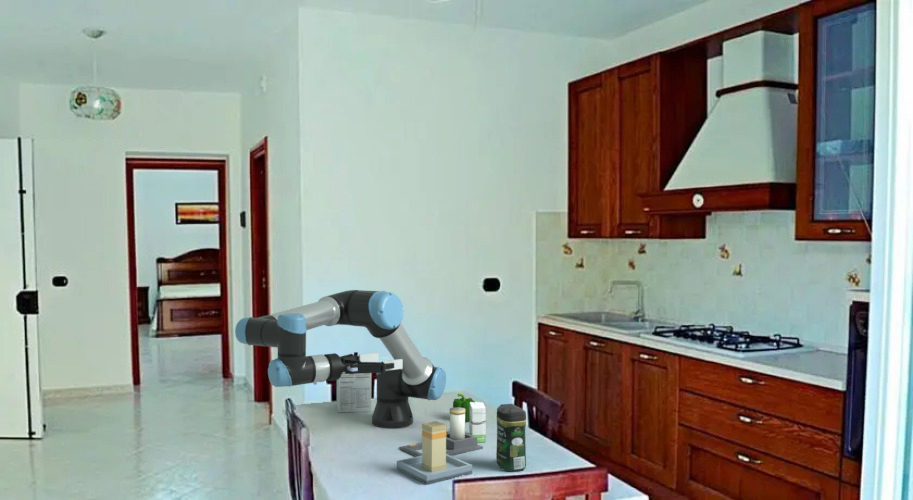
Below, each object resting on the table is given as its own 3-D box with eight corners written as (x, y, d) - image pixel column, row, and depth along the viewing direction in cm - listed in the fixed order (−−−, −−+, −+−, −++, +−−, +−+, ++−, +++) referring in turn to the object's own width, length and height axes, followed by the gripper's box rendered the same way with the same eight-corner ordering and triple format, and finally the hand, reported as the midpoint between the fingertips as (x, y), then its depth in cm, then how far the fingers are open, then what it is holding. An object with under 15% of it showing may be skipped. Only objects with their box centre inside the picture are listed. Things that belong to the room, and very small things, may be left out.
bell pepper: (478, 418, 270) (478, 392, 270) (471, 424, 262) (471, 397, 262) (457, 416, 273) (457, 390, 273) (449, 422, 265) (450, 395, 265)
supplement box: (371, 411, 280) (372, 367, 280) (337, 413, 277) (337, 368, 277) (368, 403, 293) (368, 361, 293) (336, 405, 290) (336, 362, 290)
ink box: (486, 442, 239) (486, 407, 239) (471, 442, 239) (471, 407, 239) (483, 435, 248) (483, 401, 248) (468, 435, 248) (469, 401, 247)
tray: (396, 469, 212) (396, 460, 211) (440, 459, 221) (440, 451, 221) (426, 484, 199) (426, 475, 199) (472, 473, 208) (472, 465, 208)
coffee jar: (492, 463, 218) (493, 402, 217) (516, 461, 220) (517, 401, 220) (504, 473, 208) (505, 410, 208) (529, 470, 211) (530, 408, 211)
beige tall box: (421, 467, 210) (421, 423, 210) (436, 464, 213) (436, 420, 213) (431, 472, 206) (431, 427, 206) (446, 468, 209) (446, 424, 209)
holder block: (399, 448, 232) (399, 439, 232) (454, 437, 245) (454, 428, 245) (425, 461, 219) (425, 451, 219) (482, 448, 233) (482, 439, 233)
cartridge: (446, 444, 237) (446, 408, 236) (458, 442, 240) (459, 406, 239) (455, 448, 232) (455, 411, 232) (468, 445, 235) (468, 409, 235)
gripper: (305, 374, 210) (368, 366, 223) (345, 389, 190) (412, 380, 203) (305, 348, 210) (368, 342, 223) (345, 361, 190) (412, 353, 203)
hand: (389, 360), depth 213 cm, fingers open, 13 cm apart
